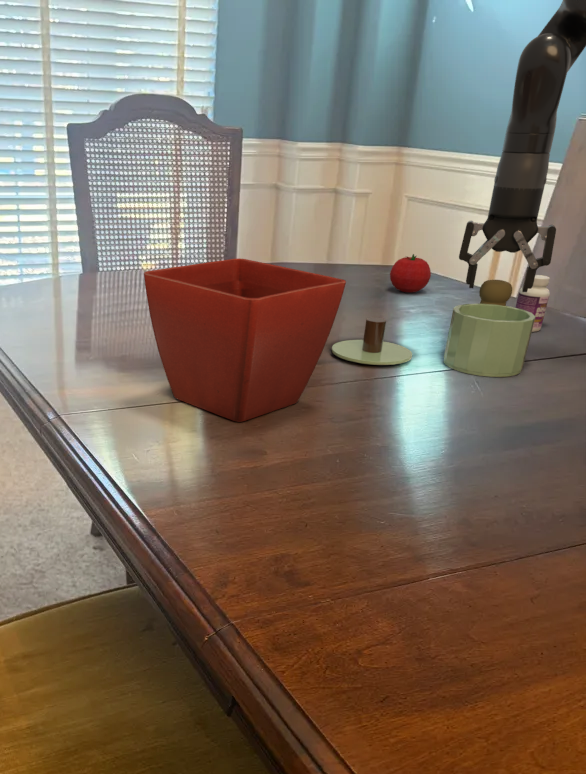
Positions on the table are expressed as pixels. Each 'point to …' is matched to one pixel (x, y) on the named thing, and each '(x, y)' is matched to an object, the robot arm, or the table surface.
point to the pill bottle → (535, 300)
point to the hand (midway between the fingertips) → (497, 289)
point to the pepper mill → (495, 292)
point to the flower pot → (240, 332)
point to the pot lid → (372, 347)
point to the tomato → (410, 274)
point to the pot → (488, 339)
